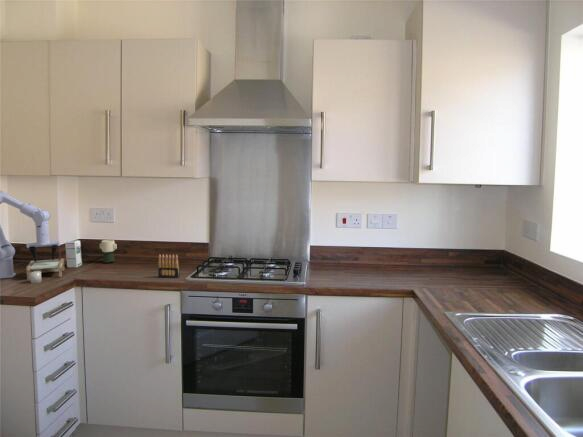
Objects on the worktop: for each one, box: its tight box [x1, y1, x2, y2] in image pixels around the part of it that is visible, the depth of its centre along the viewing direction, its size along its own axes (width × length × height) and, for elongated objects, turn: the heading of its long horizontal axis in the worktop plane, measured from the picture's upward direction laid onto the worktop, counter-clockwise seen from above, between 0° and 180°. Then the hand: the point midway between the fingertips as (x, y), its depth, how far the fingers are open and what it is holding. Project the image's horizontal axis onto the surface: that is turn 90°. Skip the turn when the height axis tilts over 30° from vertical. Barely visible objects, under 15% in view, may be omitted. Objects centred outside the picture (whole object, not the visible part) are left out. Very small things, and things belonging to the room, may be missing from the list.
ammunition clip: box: [158, 253, 181, 279], centre depth 219 cm, size 11×2×12 cm, turn 84°
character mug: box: [99, 239, 118, 264], centre depth 253 cm, size 11×7×13 cm, turn 79°
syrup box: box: [64, 239, 83, 268], centre depth 243 cm, size 6×6×14 cm
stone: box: [29, 271, 42, 284], centre depth 211 cm, size 5×5×5 cm
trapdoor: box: [30, 258, 60, 270], centre depth 224 cm, size 13×12×2 cm
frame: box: [25, 257, 65, 281], centre depth 224 cm, size 15×16×7 cm
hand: (44, 260), depth 220 cm, fingers open, 7 cm apart
